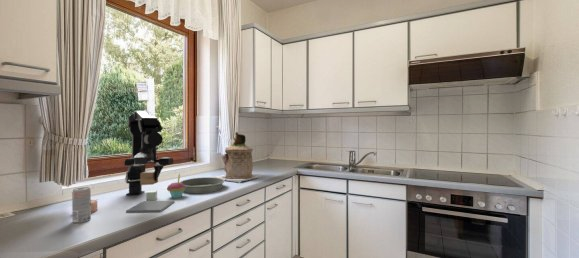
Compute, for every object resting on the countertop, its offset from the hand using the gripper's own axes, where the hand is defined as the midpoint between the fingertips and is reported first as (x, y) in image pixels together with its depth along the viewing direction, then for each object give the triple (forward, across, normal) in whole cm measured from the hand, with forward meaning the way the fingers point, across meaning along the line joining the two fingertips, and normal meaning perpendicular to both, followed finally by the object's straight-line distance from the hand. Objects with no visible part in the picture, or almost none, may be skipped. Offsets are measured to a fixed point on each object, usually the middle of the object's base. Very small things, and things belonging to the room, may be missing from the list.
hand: (149, 181), depth 113 cm
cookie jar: (+11, +28, +64) cm, 71 cm away
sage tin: (+11, -5, +13) cm, 18 cm away
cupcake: (+12, +4, +17) cm, 21 cm away
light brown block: (+11, -23, -5) cm, 26 cm away
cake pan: (+12, +12, +34) cm, 38 cm away
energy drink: (+12, -17, -16) cm, 26 cm away
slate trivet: (+11, +1, 0) cm, 11 cm away
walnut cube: (+1, 0, 0) cm, 1 cm away
